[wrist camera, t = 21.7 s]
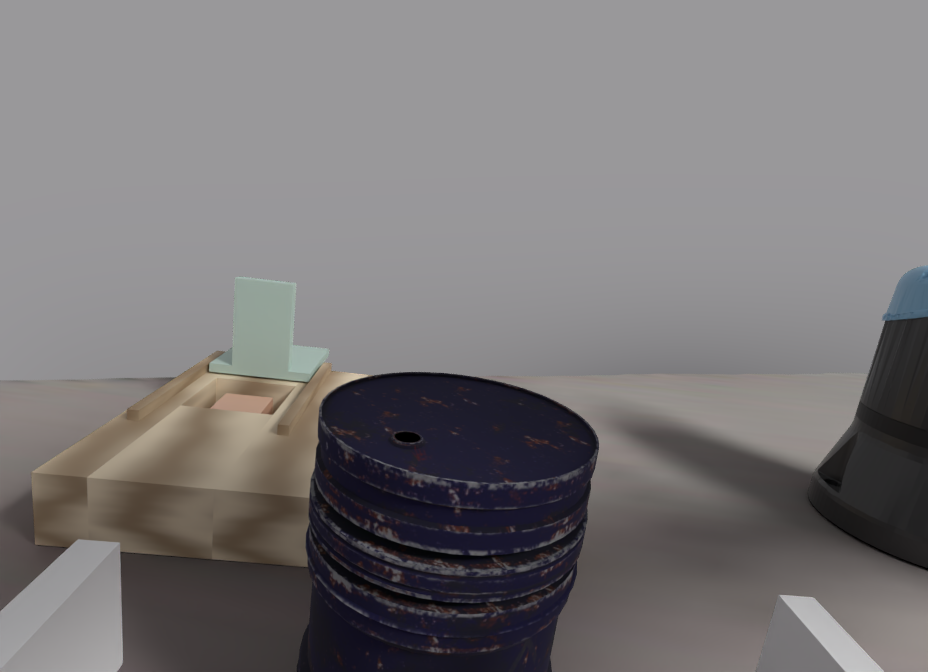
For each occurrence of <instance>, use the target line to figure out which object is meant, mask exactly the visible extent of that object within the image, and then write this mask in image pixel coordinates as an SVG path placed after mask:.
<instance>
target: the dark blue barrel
mask: <svg viewBox="0 0 928 672" xmlns="http://www.w3.org/2000/svg"><path fill="white" fill-rule="evenodd" d="M318 440H319V442H318V445H317V447H316V457H315V468H314V471H313V474H312V476H311V481H310V494H309V513H308V518H309V521H310V522H309V526H308V529H307V532H306V546H305V548H306V552H307V556H308V560H307V564H308V568H309V572H310V577H311V579H312V581H313V582H312V595H311V607H310V620H309V624H308V626H307V629H306V631H305V633H304V635H303V639H302V643H301V647H300V654H299V660H298V664H297V672H552V669H551V661H550V655H551V650H552V645H553V640H554V635H555V630H556V624H557V619H558V615H559V614H560V612H561V610H562V609H563V607H564V605H565V604H566V602H567V599H568V596H569V593H570V591H571V589H572V588H573V585H574V582H575V578H576V575H577V559H578V558H579V554H580V551H581V548H582V544H583V539H584V534H585V529H586V524H587V505H588V500H589V495H590V490H591V481H590V479H591V478H592V475H593V472H594V469H595V465H596V460H597V455H598V450H599V442H598V437H597V435H596V433H595V431H594V430H593V428H592V427H591V426H590V425H589V424H588V422H586V421H585V420H584V419H583V418H582V417H581V416H579V415H578V414H577V413H575V412H574V411H572V410H571V409H569V408H568V407H566V406H564V405H562V404H560V403H558V402H556V401H554V400H552V399H550V398H547V397H545V396H543V395H540V394H538V393H535V392H532V391H529V390H526V389H523V388H520V387H517V386H513V385H510V384H506V383H502V382H498V381H493V380H488V379H483V378H478V377H472V376H463V375H457V374H447V373H430V372H403V373H389V374H381V375H374V376H369V377H364V378H360V379H357V380H353V381H350V382H347V383H345V384H343V385H341V386H338V387H337V388H335V389H334V390H332V391H331V392H329V393H328V394H327V395H326V396H325V397H324V399H323V400H322V402H321V404H320V407H319V418H318Z"/></svg>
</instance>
